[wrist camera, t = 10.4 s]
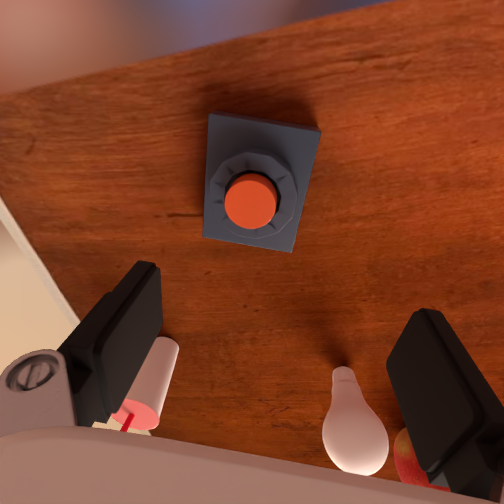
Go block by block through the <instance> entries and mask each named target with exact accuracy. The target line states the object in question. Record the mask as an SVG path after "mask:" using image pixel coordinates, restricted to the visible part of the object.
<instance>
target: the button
mask: <svg viewBox="0 0 504 504" xmlns="http://www.w3.org/2000/svg"><path fill="white" fill-rule="evenodd" d="M276 201H277V193H276V190H275V187H274V185H273V184H272V183H271V181H270V180H269V179H267V178H266V177H264V176H262V175H260V174H256V173H248V174H244V175H242V176H240V177H238V178H237V179H236V180H235V181H234V182H233V183H232V185H231V187H230V188H229V190H228V192H227V194H226V197H225V210H226V213H227V215H228V216H229V218H230V219H231V220H232V221H233V222H234V223H235V224H237V225H238V226H240V227H243V228H247V229H255V228H260V227H262V226H264V225H266V224H267V223H268V222H269V221H270V220H271V219H272V217H273V216H274V213H275V210H276Z"/></svg>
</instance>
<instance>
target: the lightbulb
mask: <svg viewBox="0 0 504 504" xmlns="http://www.w3.org/2000/svg"><path fill="white" fill-rule="evenodd" d="M332 376H333V387H332V402H331V406H330V409H329V411H328V413H327V415H326V418H325V420H324V423H323V430H322V436H323V442H324V446H325V449H326V451H327V453H328V455H329V456H330V458H331V459H332V461H333V462H334V463H335V464H336V465H337V466H338V467H339V468H340V469H342V470H343V471H345V472H349V473H354V474H360V475H365V476H368V475H371V474H373V473H375V472H377V471H378V470H379V469H380V468H381V467H382V466H383V464H384V463H385V461H386V458H387V455H388V449H389V443H388V436H387V432H386V430H385V428H384V426H383V424H382V422H381V420H380V419H379V418H378V417H377V415H376V414H375V413H374V412H373V410H372V409H371V408H370V407H369V406H368V405H367V403H366V401H365V400H364V398H363V396H362V393H361V389H360V387H359V385H358V384H357V382H356V378H355V375H354V372H353V370H352V369H350V368H348V367H344V366H341V367H338V368H336V369H335V370H334V371H333V373H332Z"/></svg>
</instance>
